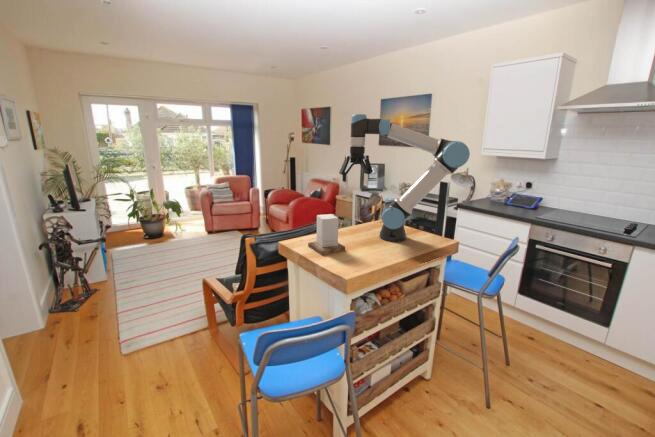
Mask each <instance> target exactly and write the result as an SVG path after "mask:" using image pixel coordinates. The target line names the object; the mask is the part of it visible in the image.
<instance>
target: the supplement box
mask: <svg viewBox="0 0 655 437" xmlns="http://www.w3.org/2000/svg"><path fill="white" fill-rule="evenodd" d="M316 241H317V243H318V244H319V245H320V246H321V247H331V246H338V243H339V217H338V216H336V215H335V214H333V213H328V214H326V213H325V214H317V215H316Z"/></svg>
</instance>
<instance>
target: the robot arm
mask: <svg viewBox="0 0 655 437" xmlns="http://www.w3.org/2000/svg"><path fill="white" fill-rule="evenodd" d="M350 122H351V123H350V143H349V144H350V149H349V154H350V155H345V156H344V161H343V163H342V165H341V168H340V170H339V174H340V175H342V182H343V186H342V187H343V188H344V189H348V187H349V186H348V184H349V183H348V180H349V175H348V173H349V172H350V170H351V169H352V168H353V166H355V165H360V166H361V168H362V169H363V172H364V174H363V186H364V187H368V186H369V180H370V175H371V174H372V173H373V168H372V165H371V164H372V163H371V161H370V156H369V154H366V153H365V152H366V150H365V149H366V147H365V145H366V135H381V136H383V137H385V138H388V139H390V140H394V141H396V142H400V143H402V144H405V145H408V146H410V147H413V148H416V149H419V150H422V151H425V152H427V153H430V154H431V155H432V156H433V157H434V158H433V163H432V164H431V165H430V166H429V167H428V168H427V169H426V170H425V171H424V173H422V174H421V175H420V176H419V177H418V179H417V180H416V181H415V182H413V184H412V185H411V186H409V188H408V189H407V190H406V191H405V192H404V193H403V194H402V195H401V196H400V197H395V198H394V197H393V198H392V197H391V198H390V197H388V198H386V199H384V208H383V211H382V213H381V222H382V226H381V229H380V232H379V238H380V239H381V240H384V241H388V242H394V243H395V242H397V243H398V242H403V241H405V240H406V239H407V233H406V230H405V222H406V220H407V219H408V218H409V217H411V215H412V214H413V209H414V208H415V207H416V206H417V205H418V204H419V203H420V202H421V201H422V200H423V199H424V198H425V197H426V196H427V195H428V194H429V193H430V192H431V191H432V190H433V189H434V188H436V186H437V185H438V184H439V183H440V182H441V181H442V180H443V179H445V177H447V176H448V175H453V174H454V173H455V172H456V171H458V169H459V168H461V167H463V166H464V165H466V164H467V162H469V158H470V149H469V147H468V146H467V145H466V143H464V142H463V141H459V140H448V139H444V138H441V137H440V138H436V137H434V136H430V135H426V134H423V133H421V132H418V131H415V130H414V129H413V130H412V129H409V128H407V127H403V126H401V125H398V124H396V123H393V122H391V120H390V119H389V118H368V116H367V114H365V113H364V114H362V113H360V114H359V113H355V114H352V116H351V119H350Z"/></svg>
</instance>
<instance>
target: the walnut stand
mask: <svg viewBox="0 0 655 437" xmlns="http://www.w3.org/2000/svg"><path fill="white" fill-rule="evenodd" d="M307 247H309V248H310V249H311V250H313V251H314V252H316V253H317V254H319V255H320V256H326V255H329V254H334V253H338V252H342V251H343V252H344V251H346V246H345V245H344V244H341V243H340V242H338V246H331V247H321V246H320V245H319V244H318V243H317V240H316V241H311V242H308V243H307Z"/></svg>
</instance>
